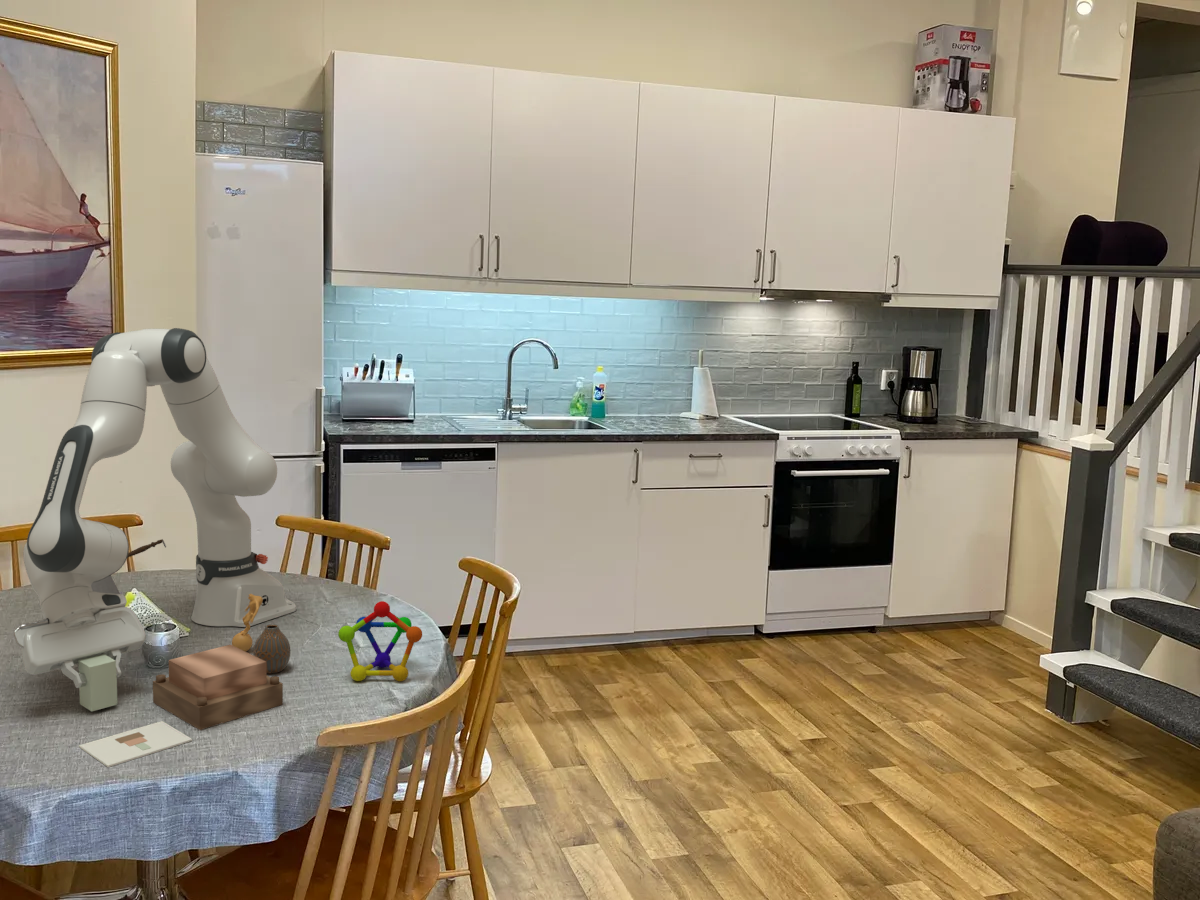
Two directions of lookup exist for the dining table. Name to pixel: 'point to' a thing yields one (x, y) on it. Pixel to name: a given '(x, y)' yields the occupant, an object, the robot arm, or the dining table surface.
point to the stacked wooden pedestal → (216, 687)
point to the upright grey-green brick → (98, 682)
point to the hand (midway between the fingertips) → (99, 681)
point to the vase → (272, 649)
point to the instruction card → (135, 743)
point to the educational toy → (382, 657)
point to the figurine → (247, 624)
